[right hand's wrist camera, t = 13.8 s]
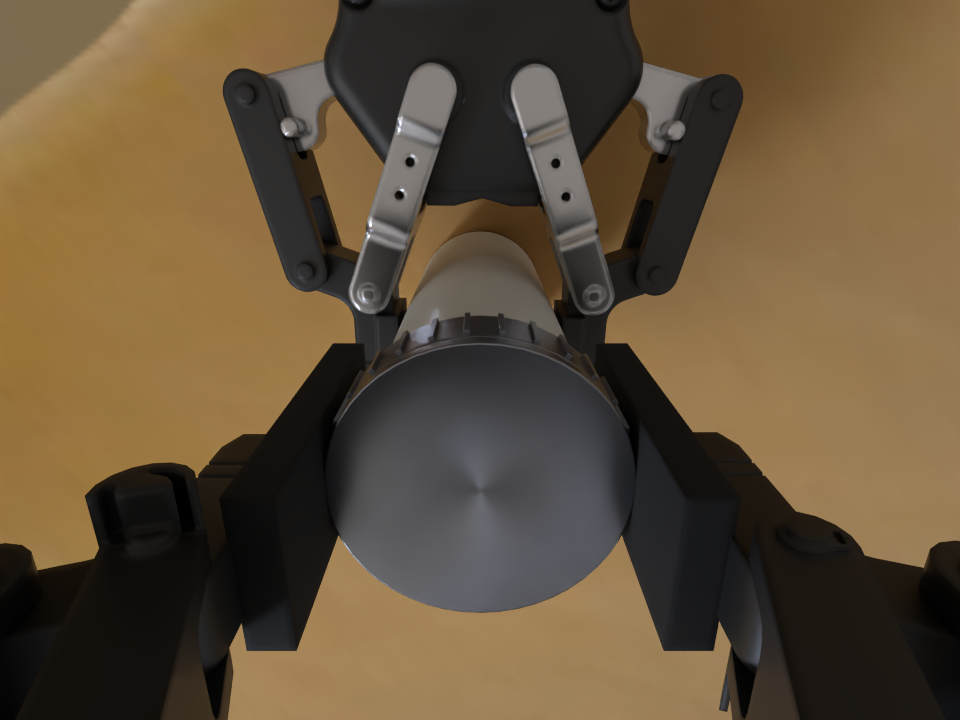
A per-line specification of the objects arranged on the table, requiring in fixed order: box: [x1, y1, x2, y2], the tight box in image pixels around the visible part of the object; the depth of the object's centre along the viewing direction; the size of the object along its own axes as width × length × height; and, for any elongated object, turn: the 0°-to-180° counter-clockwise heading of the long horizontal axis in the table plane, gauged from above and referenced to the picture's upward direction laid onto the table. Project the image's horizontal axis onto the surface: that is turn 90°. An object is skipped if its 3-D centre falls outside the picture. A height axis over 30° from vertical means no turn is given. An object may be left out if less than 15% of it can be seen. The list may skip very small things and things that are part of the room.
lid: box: [324, 312, 636, 613], centre depth 11 cm, size 6×6×2 cm
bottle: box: [393, 231, 567, 343], centre depth 18 cm, size 5×5×15 cm
